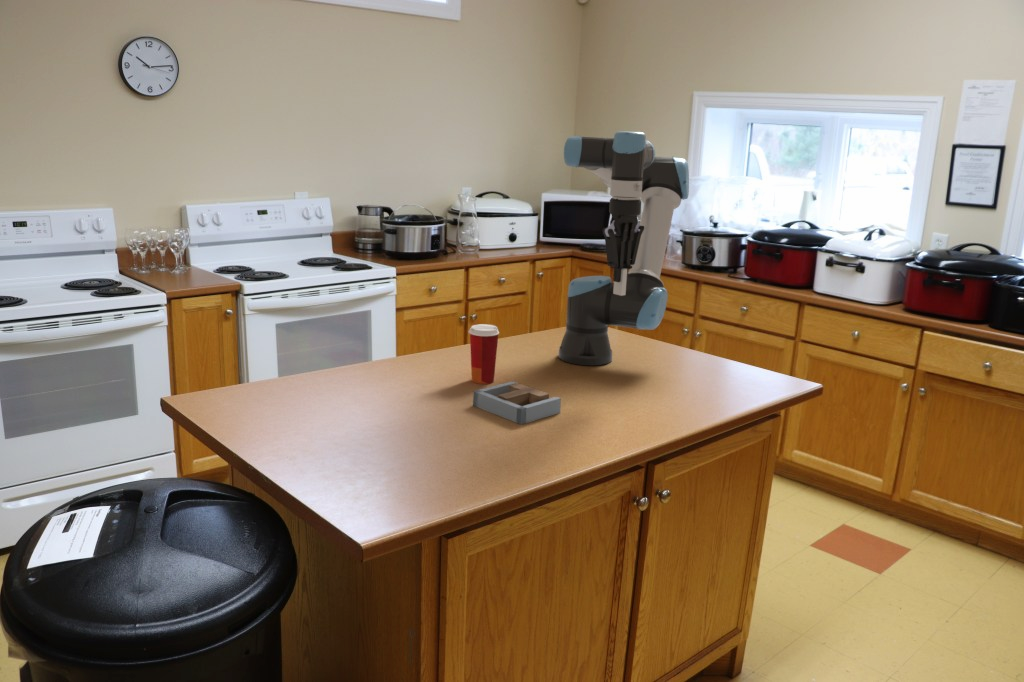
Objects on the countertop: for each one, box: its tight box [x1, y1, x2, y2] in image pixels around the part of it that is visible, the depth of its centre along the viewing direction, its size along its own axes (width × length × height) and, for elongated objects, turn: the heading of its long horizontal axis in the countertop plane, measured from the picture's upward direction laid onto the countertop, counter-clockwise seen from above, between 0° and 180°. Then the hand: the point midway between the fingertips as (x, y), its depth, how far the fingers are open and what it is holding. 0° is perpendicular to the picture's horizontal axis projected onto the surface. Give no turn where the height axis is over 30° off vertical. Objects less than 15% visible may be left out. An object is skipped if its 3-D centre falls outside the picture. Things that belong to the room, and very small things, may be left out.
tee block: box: [498, 382, 550, 406], centre depth 194 cm, size 10×10×4 cm
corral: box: [472, 381, 562, 425], centre depth 194 cm, size 16×12×4 cm
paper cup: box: [467, 323, 500, 385], centre depth 213 cm, size 8×8×14 cm
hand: (619, 294), depth 208 cm, fingers closed
